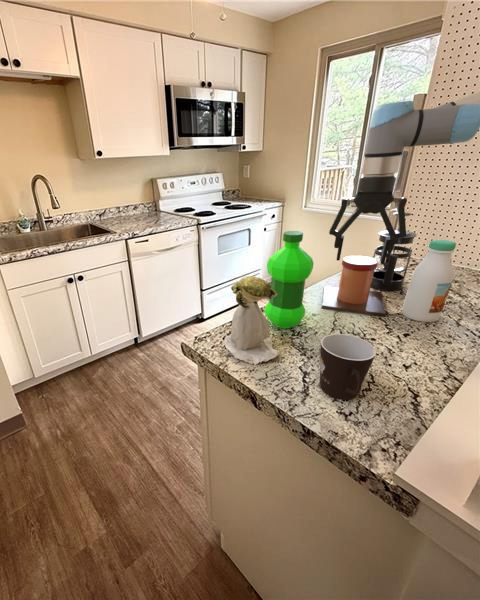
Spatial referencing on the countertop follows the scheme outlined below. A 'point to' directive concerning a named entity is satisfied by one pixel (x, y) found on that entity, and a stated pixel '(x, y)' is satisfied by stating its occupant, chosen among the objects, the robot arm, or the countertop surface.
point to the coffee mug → (344, 365)
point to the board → (370, 307)
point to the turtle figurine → (251, 322)
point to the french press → (392, 263)
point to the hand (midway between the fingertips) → (359, 260)
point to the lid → (359, 263)
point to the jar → (355, 286)
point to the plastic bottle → (288, 281)
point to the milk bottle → (430, 283)
